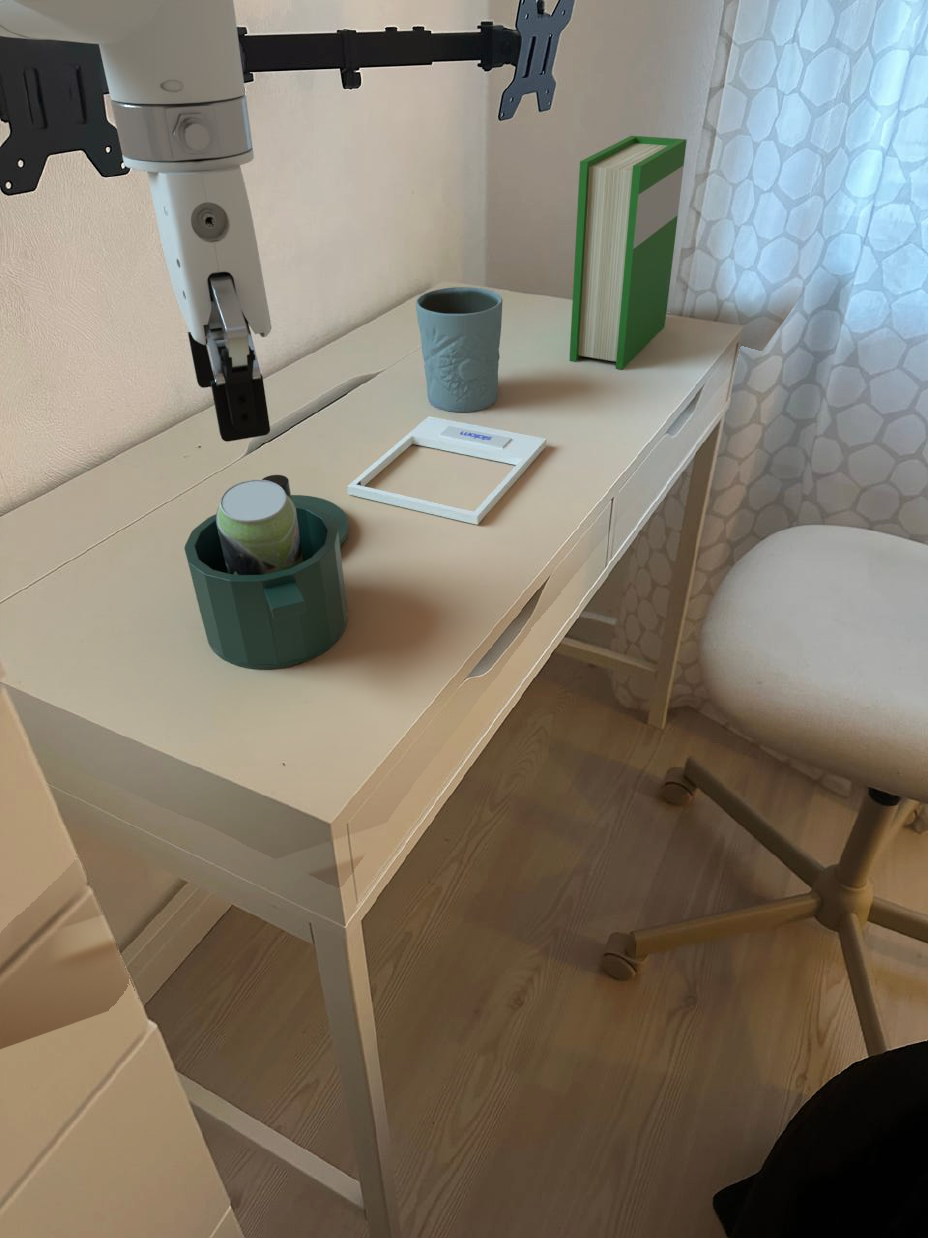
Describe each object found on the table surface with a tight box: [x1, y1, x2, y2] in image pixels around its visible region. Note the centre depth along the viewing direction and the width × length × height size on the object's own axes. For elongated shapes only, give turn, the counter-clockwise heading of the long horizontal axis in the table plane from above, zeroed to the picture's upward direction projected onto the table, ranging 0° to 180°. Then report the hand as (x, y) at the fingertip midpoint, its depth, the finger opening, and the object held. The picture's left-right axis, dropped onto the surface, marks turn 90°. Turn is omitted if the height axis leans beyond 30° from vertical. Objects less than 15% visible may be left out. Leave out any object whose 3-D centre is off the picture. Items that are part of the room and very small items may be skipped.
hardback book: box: [569, 135, 688, 370], centre depth 116 cm, size 18×7×24 cm, turn 152°
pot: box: [183, 501, 349, 670], centre depth 72 cm, size 12×17×8 cm
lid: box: [261, 474, 350, 547], centre depth 83 cm, size 13×13×6 cm
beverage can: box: [215, 479, 303, 575], centre depth 71 cm, size 6×7×12 cm
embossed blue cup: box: [414, 286, 504, 413], centre depth 106 cm, size 10×10×12 cm
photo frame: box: [346, 415, 547, 526], centre depth 95 cm, size 15×1×18 cm
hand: (232, 408), depth 62 cm, fingers open, 9 cm apart
